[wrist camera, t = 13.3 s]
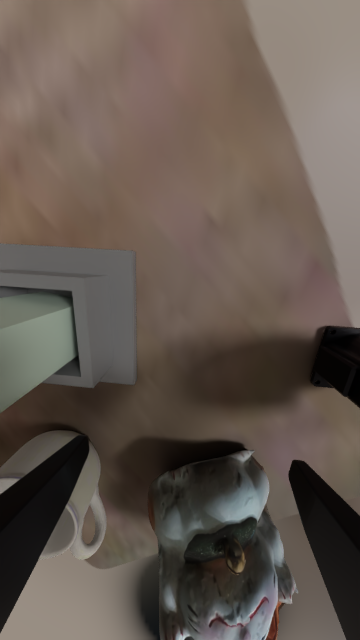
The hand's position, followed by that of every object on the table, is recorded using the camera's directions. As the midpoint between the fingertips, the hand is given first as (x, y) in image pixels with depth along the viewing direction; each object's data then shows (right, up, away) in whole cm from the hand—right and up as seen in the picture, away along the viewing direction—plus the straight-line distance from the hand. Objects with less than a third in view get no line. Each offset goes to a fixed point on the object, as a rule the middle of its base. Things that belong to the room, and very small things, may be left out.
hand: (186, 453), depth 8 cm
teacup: (-14, -13, +18) cm, 26 cm away
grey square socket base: (-12, +6, +12) cm, 18 cm away
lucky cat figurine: (+4, -15, +17) cm, 23 cm away
